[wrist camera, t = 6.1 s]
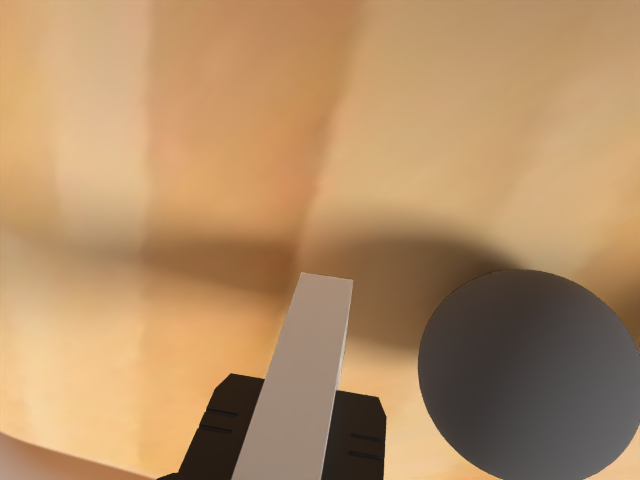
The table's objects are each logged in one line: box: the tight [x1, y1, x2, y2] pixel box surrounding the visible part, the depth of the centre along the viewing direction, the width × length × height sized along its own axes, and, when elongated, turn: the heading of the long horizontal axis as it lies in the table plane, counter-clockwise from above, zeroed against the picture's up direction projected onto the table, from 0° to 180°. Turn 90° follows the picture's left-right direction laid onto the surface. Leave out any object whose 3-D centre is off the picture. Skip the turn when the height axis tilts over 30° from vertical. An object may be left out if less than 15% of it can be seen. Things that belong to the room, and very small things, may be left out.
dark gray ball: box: [418, 270, 640, 480], centre depth 13 cm, size 6×6×6 cm
